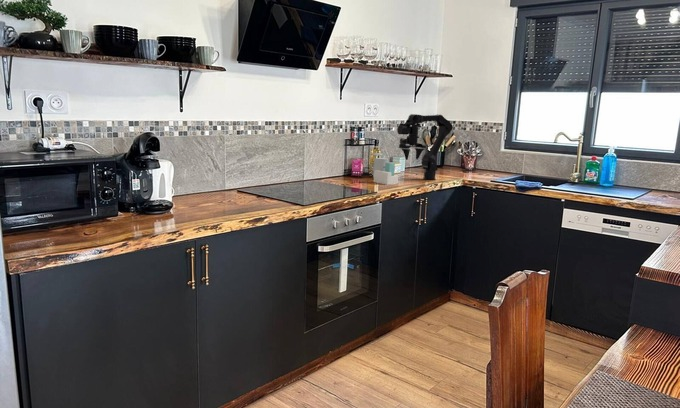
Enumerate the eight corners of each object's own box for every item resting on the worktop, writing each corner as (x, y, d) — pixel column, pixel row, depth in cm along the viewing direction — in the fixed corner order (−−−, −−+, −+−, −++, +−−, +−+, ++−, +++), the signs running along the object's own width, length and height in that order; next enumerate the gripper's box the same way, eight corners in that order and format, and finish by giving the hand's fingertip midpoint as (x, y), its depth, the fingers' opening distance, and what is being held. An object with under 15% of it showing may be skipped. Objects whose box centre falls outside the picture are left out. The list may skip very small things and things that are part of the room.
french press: (373, 173, 350) (374, 137, 345) (388, 175, 343) (390, 138, 339) (365, 174, 342) (367, 137, 337) (380, 176, 335) (382, 138, 331)
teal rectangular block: (389, 182, 310) (390, 162, 308) (393, 182, 307) (394, 163, 304) (382, 182, 306) (383, 162, 304) (386, 183, 303) (388, 163, 301)
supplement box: (382, 178, 324) (383, 159, 321) (372, 177, 328) (373, 158, 326) (388, 177, 330) (389, 158, 327) (378, 176, 334) (379, 157, 332)
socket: (385, 181, 313) (386, 169, 312) (399, 183, 304) (400, 172, 303) (373, 182, 307) (374, 170, 306) (387, 184, 298) (387, 172, 297)
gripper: (414, 134, 329) (412, 158, 332) (393, 133, 317) (392, 158, 320) (427, 135, 320) (425, 159, 323) (406, 134, 309) (404, 160, 312)
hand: (411, 159), depth 320 cm, fingers open, 9 cm apart
